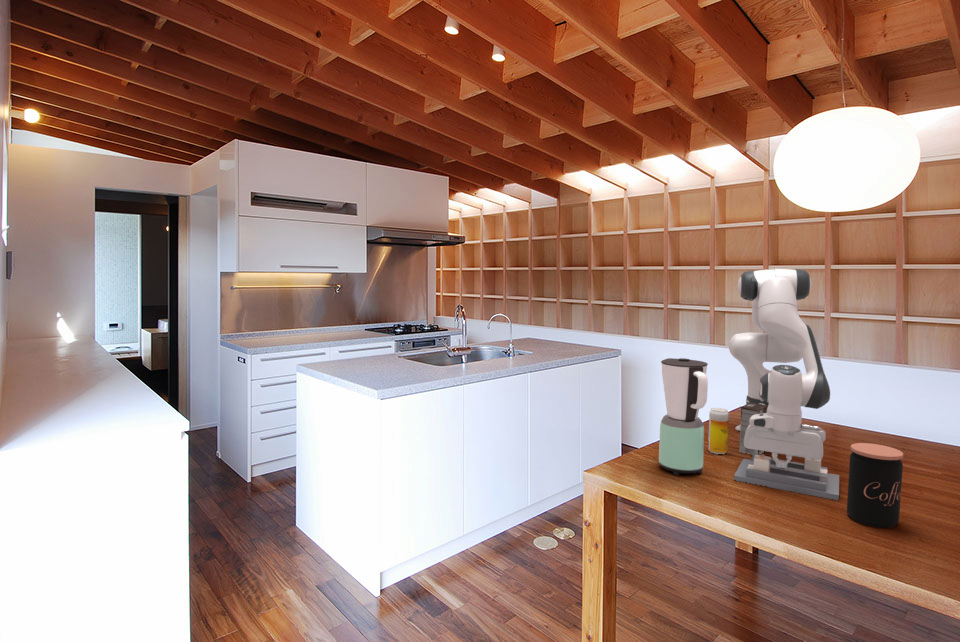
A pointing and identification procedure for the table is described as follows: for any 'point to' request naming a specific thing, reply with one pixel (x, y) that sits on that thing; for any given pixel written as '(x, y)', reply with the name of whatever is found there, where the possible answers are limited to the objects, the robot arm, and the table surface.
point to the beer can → (718, 430)
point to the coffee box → (746, 414)
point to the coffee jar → (874, 485)
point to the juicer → (683, 415)
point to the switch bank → (791, 478)
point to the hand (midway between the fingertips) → (781, 468)
